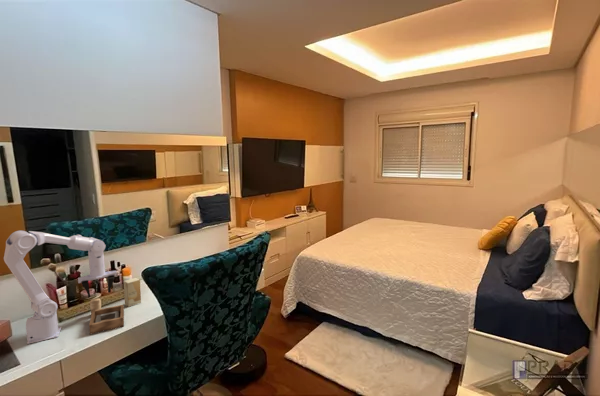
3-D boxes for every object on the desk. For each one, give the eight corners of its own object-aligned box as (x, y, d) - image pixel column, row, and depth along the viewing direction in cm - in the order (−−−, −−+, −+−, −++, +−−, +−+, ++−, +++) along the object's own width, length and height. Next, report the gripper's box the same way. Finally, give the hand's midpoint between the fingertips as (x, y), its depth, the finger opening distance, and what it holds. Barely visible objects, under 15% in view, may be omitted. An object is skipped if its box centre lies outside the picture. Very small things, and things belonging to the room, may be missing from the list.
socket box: (89, 334, 124) (89, 325, 123) (93, 319, 136) (92, 310, 135) (123, 326, 130) (123, 317, 129) (124, 312, 142) (123, 304, 141)
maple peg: (90, 317, 137) (89, 303, 136) (91, 314, 141) (90, 299, 140) (101, 315, 139) (100, 301, 138) (102, 311, 143) (100, 297, 142)
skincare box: (128, 307, 147) (126, 283, 145) (124, 304, 149) (122, 281, 148) (142, 302, 152) (140, 279, 150) (137, 300, 155) (136, 277, 153)
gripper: (77, 271, 129) (80, 301, 130) (116, 264, 138) (119, 292, 140) (76, 266, 134) (79, 296, 136) (114, 260, 143) (116, 287, 145)
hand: (99, 294), depth 138 cm, fingers open, 7 cm apart
